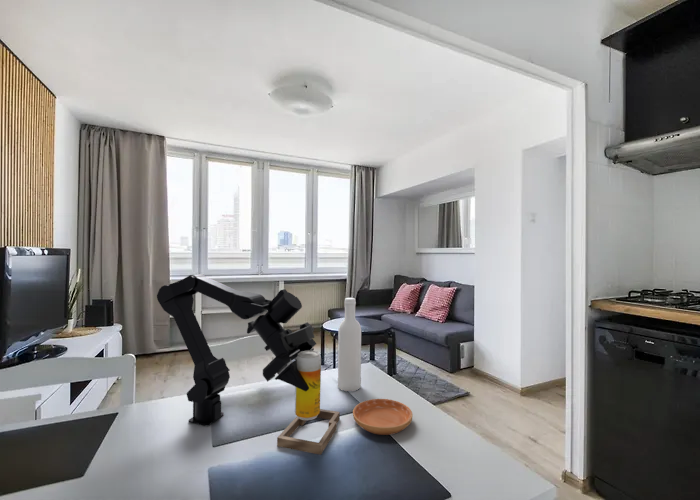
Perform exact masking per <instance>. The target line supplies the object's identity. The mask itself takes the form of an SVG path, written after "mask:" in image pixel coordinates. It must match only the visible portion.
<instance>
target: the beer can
mask: <svg viewBox="0 0 700 500" xmlns="http://www.w3.org/2000/svg"><path fill="white" fill-rule="evenodd" d="M296 360H297V369H298V371H299V372H300V374H301V375H302V377H303V378H304V380H305V382H306V383H307V385H308V387H309V389H308V390H307V391H304V390H302V389H299V388H297V387H295V386H294V388H295V391H294V392H295V393H294V395H295V397H294V414H295V415H296V417H298V418H299V419H301V420H307V421H312V420H315V419H316V417H317V416H318V414H319V413H320V409H321V385H322V383H321V382H322V381H321V377H322V375H321V374H322V371H321V370H322V357H321V355H320V352H318V351H316V350H313V351H302V352H299V353H298V356H297V358H296Z"/></svg>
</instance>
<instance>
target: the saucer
mask: <svg viewBox="0 0 700 500" xmlns="http://www.w3.org/2000/svg"><path fill="white" fill-rule="evenodd" d="M413 415H414V414H413V411H412V409H411V408H410V407H409V406H407V405H406V404H404V403H403V402H400V401H397V400H393V399H388V398H387V399H386V398H372V399H368V400H363V401H361V402H360V403H357V404H356V405H355V406H354V408H353V410H352V417H353V420H354V422H355V423H356V424H357V425H358V426H360V428H361V429H362V430H365V431H366V432H368V433H371V434H374V435H379V436H381V435H382V436H387V435H388V436H390V435H395V434H397V433H400V432H402V431H403V430H404V429H406V428H408V427H409V425H410V424H411V423H412V421H413Z"/></svg>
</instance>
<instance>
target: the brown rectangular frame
mask: <svg viewBox="0 0 700 500" xmlns="http://www.w3.org/2000/svg"><path fill="white" fill-rule="evenodd" d="M340 413H341V412H340V411H337V410H329V409H324V408H320V413H319V414H318V416H317V417H316V418H318V419H322V420H328V428H327V430H326V431H325V432H324V434H323V435H322V437H321V438H320V439H319V441H318V442H317V441H312V440H306V439H301V438H297V437H291V436H292V435H293V433H294V432H295V431H296V430H297V429H298V428H299V426H304V425H305V424H306V422H307V421H308V420H301V419H299V418H298V417H297V416H295V417H294V419H293V420H292V421H290V423H289V424H288V426H286V427H285V428H284V430H283V431H281V432H280V434H279V435H278V436H276V439H277V440H276V441H277V442H276V446H277V447H279V448H284V449H289V450H294V451H295V450H296V451H299V452H304V453H309V454H315V455H323V453H324V450H325V449H326V448H327V446H328V445H329V443H330V441H331V440H332V438H333V436H334V435H335V433H336V432H337V429H338V426H337V425H338V422H339V421H340V420H341V419H340V418H341V417H340ZM316 418H315V419H316Z"/></svg>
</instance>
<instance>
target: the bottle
mask: <svg viewBox="0 0 700 500" xmlns="http://www.w3.org/2000/svg"><path fill="white" fill-rule="evenodd" d="M356 305H357V302H356V298H354V297H345V298H344V319H343V320H342V321H341V322H340V324H339V327H338V330H337V331H338V336H337V340H338V341H337V342H338V345H337V346H338V347H337V348H338V350H337V362H338V363H337V388H338V387H339V388H340V389H341V390H340V389H339V388H338V389H339V390H340V391H343V390H344V391H343V392H347V391H352V392H356V391H355V390H357V391H359V390H360V389H361V388H360V387H361V385H362V326H361V324H360V322H359V321H358V320H357V319H356ZM359 388H360V389H359ZM358 389H359V390H358Z"/></svg>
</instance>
